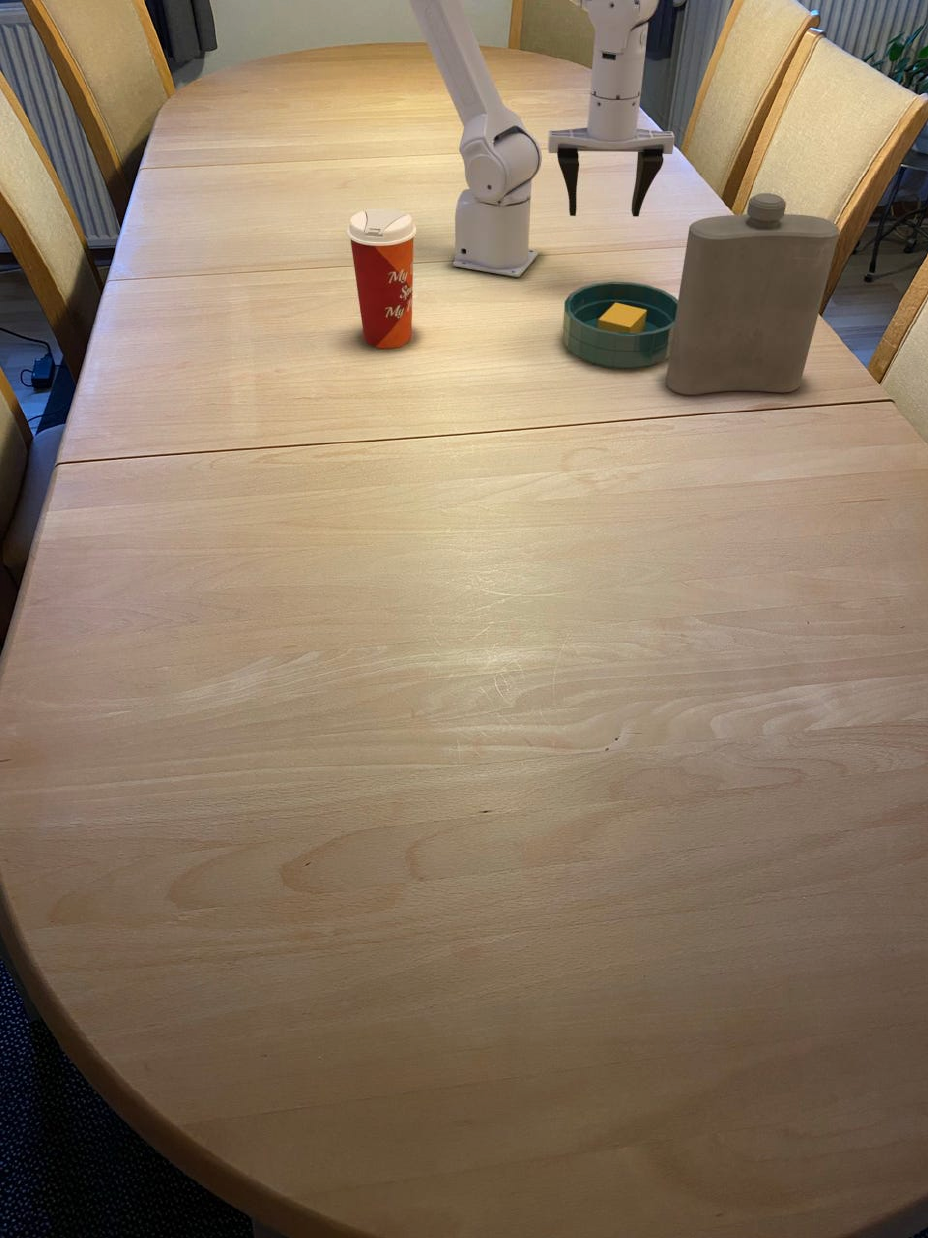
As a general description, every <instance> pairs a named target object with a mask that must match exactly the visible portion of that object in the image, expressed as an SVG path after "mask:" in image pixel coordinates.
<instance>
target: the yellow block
mask: <svg viewBox="0 0 928 1238" xmlns="http://www.w3.org/2000/svg"><path fill="white" fill-rule="evenodd" d="M646 313H647V310H645V309H641V308H636V307H632V306H628V305H624V304H620V303H615V304H614V305H613V306H612V307H611V308H610V309H609V310H608V311H607V312H605V313H604V314H603V315H602V316H601V317H600V318H599V320H598V329H601V330H606V331H612V332H617V333H641V332H644V328H645V320H646Z"/></svg>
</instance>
